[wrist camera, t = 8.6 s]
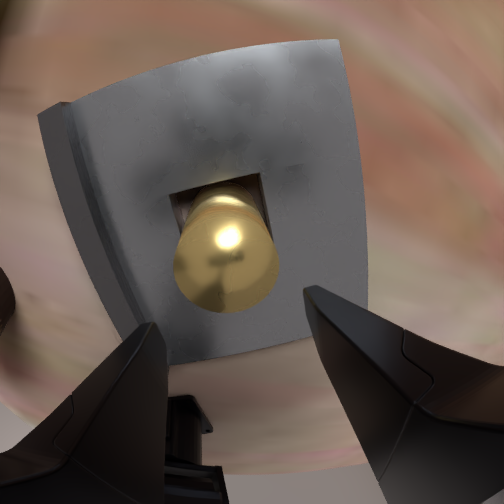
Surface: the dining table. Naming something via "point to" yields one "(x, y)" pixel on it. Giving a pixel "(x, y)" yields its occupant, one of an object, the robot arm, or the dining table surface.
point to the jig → (210, 171)
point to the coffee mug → (5, 300)
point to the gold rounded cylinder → (225, 251)
